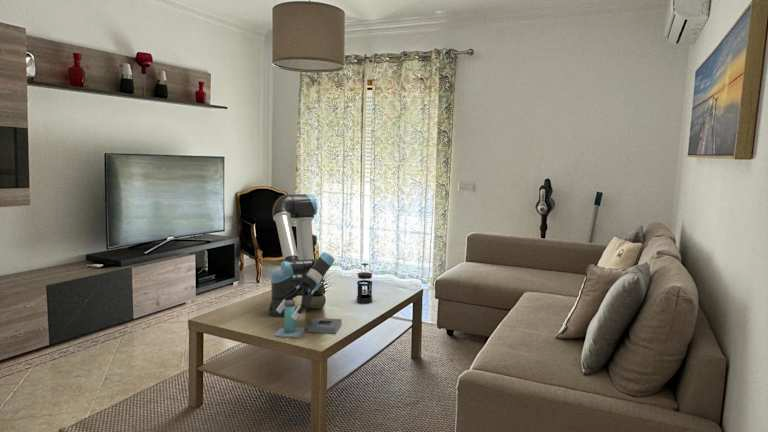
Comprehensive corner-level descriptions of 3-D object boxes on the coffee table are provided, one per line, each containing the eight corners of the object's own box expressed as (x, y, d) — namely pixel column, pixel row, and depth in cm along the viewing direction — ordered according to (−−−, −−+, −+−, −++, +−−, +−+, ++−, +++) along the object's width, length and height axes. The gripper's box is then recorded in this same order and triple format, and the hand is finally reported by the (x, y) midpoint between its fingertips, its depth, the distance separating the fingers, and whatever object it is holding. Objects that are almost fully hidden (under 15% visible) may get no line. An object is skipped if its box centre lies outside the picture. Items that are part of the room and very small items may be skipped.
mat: (273, 336, 254) (273, 334, 253) (281, 328, 265) (281, 326, 265) (298, 338, 252) (298, 336, 252) (305, 329, 264) (305, 328, 264)
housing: (307, 332, 261) (307, 326, 260) (314, 323, 274) (314, 317, 274) (335, 333, 259) (335, 327, 258) (341, 324, 272) (341, 319, 272)
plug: (283, 332, 256) (283, 302, 255) (286, 329, 261) (286, 299, 260) (293, 333, 256) (293, 303, 254) (296, 330, 261) (296, 300, 259)
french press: (362, 298, 323) (363, 261, 320) (375, 300, 318) (376, 263, 315) (352, 303, 312) (352, 264, 310) (365, 305, 308) (366, 266, 305)
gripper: (330, 289, 257) (304, 325, 249) (302, 279, 276) (276, 313, 267) (321, 280, 253) (295, 316, 245) (293, 271, 271) (267, 304, 263)
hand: (285, 315), depth 256 cm, fingers open, 13 cm apart
